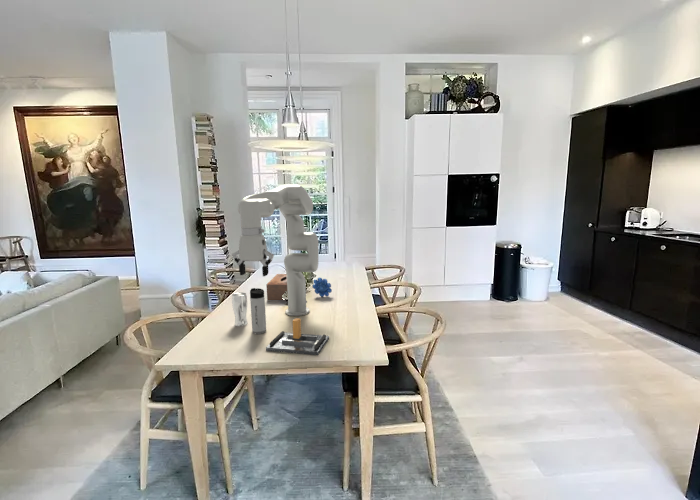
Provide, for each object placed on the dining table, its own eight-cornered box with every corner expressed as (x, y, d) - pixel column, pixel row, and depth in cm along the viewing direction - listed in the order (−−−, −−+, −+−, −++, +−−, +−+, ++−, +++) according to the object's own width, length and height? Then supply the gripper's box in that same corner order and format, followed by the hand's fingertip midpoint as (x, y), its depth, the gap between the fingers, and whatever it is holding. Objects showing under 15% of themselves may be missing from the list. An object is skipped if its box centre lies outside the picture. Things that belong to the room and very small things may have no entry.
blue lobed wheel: (311, 298, 215) (310, 279, 213) (313, 295, 222) (312, 276, 220) (331, 298, 215) (330, 279, 212) (332, 295, 221) (331, 276, 219)
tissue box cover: (291, 301, 213) (291, 284, 211) (267, 301, 213) (266, 284, 212) (299, 288, 238) (299, 273, 236) (277, 288, 239) (277, 274, 237)
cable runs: (282, 333, 161) (282, 330, 161) (326, 336, 156) (326, 333, 156) (269, 346, 148) (268, 342, 148) (316, 350, 144) (316, 347, 143)
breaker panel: (281, 335, 163) (281, 328, 162) (329, 339, 158) (329, 332, 157) (266, 350, 147) (265, 343, 147) (318, 355, 142) (317, 348, 142)
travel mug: (260, 327, 172) (257, 286, 168) (269, 331, 167) (266, 289, 164) (249, 331, 167) (246, 289, 163) (257, 335, 163) (255, 292, 159)
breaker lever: (295, 338, 154) (294, 317, 153) (302, 339, 154) (301, 318, 152) (292, 342, 151) (291, 320, 149) (299, 342, 150) (298, 321, 149)
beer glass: (233, 322, 179) (231, 293, 176) (247, 320, 181) (246, 291, 179) (234, 327, 172) (231, 297, 170) (249, 325, 175) (247, 295, 172)
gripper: (276, 231, 143) (278, 273, 145) (236, 230, 146) (239, 272, 149) (267, 233, 135) (270, 278, 138) (226, 232, 139) (229, 276, 142)
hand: (254, 275), depth 144 cm, fingers open, 9 cm apart
